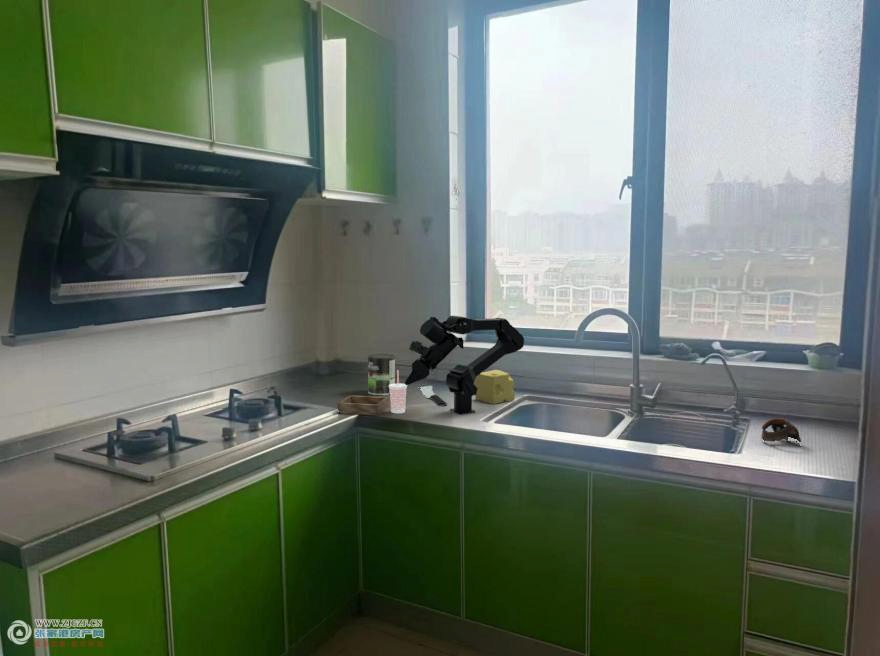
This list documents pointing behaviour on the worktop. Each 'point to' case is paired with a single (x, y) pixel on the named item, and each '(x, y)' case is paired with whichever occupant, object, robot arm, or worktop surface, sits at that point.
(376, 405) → the tray
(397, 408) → the beverage cup
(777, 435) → the brown openwork dome
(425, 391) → the kitchen cleaver
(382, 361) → the coffee can
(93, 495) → the worktop surface
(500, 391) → the cheese
